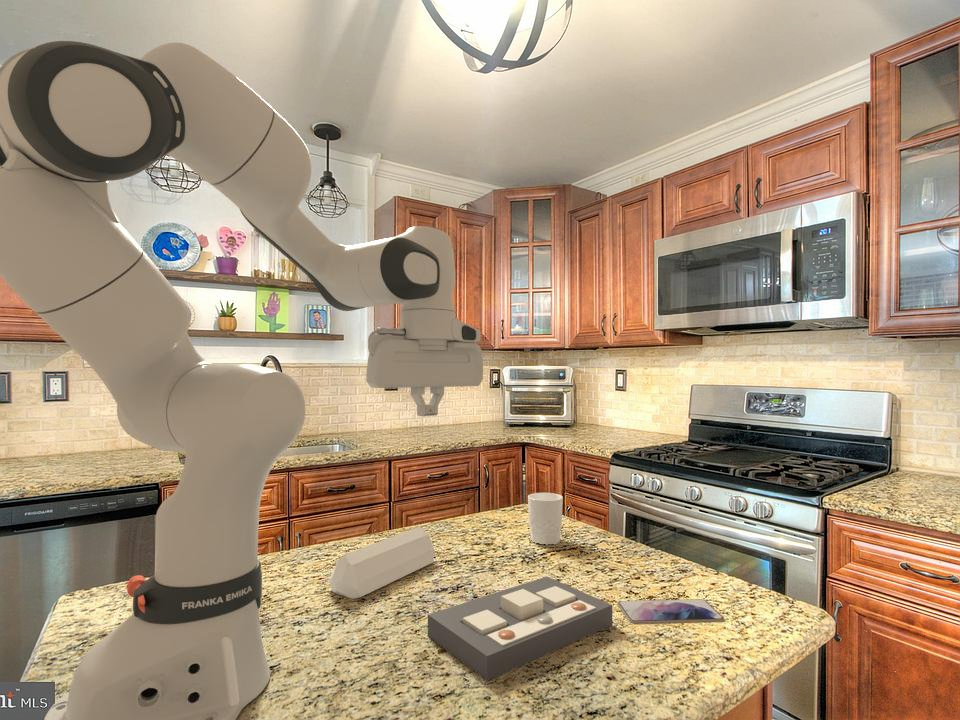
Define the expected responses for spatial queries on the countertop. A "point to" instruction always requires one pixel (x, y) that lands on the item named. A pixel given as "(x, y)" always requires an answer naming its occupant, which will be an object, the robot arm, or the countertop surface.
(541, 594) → the button right
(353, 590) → the beige chamfered bar
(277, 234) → the robot arm
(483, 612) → the button left
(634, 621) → the smartphone
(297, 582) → the countertop surface
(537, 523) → the white cup
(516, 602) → the button middle
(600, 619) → the button board
